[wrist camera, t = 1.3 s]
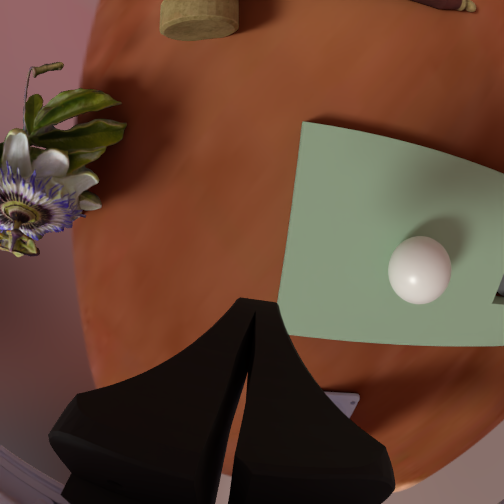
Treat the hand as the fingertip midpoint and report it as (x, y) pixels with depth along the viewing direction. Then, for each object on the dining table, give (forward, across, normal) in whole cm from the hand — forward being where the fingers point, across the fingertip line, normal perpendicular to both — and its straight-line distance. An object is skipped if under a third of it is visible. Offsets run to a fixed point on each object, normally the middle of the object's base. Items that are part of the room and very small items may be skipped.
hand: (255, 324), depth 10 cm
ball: (+7, -9, 0) cm, 11 cm away
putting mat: (+10, -14, 0) cm, 17 cm away
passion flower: (+11, +16, -4) cm, 20 cm away
